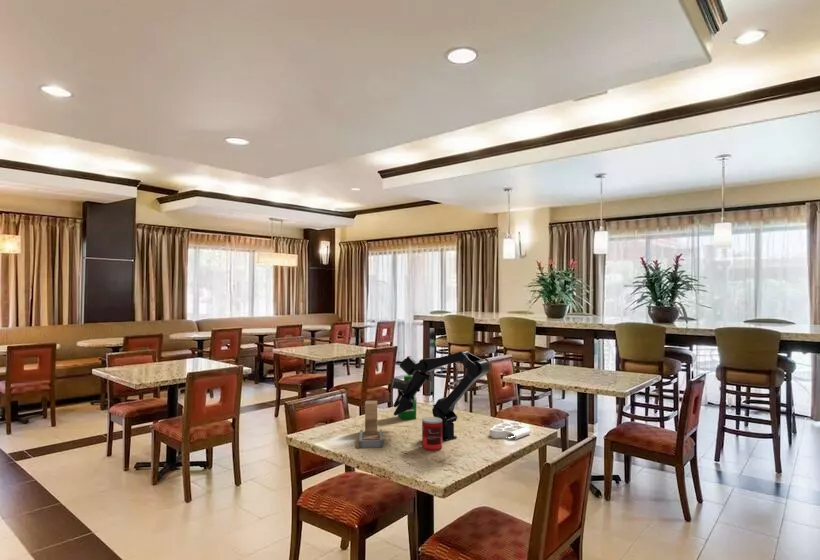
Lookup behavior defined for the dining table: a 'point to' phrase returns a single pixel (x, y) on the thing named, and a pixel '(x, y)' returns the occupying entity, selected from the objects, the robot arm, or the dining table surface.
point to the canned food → (432, 433)
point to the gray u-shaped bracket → (370, 441)
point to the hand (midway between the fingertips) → (394, 410)
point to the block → (371, 417)
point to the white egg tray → (509, 430)
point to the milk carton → (412, 412)
